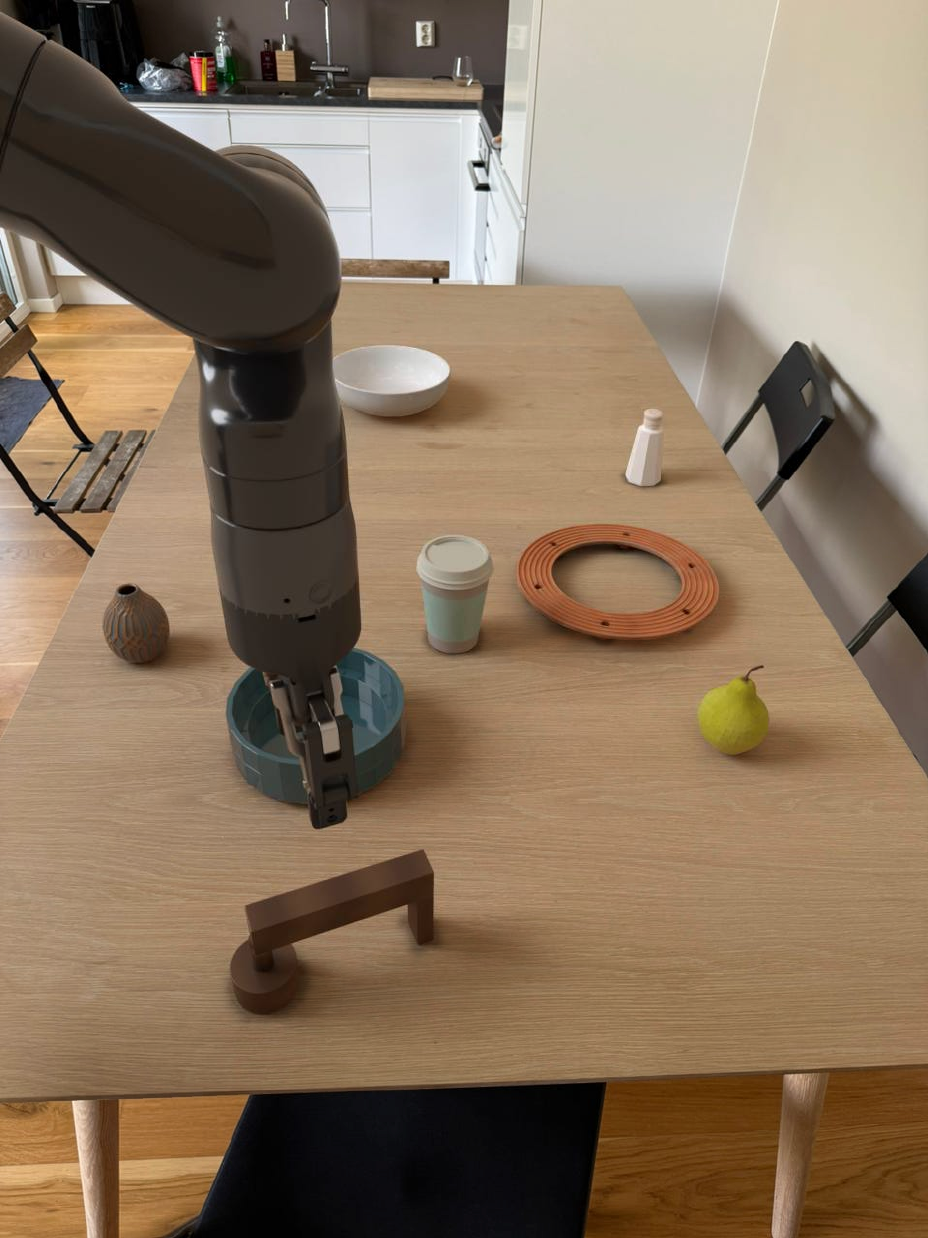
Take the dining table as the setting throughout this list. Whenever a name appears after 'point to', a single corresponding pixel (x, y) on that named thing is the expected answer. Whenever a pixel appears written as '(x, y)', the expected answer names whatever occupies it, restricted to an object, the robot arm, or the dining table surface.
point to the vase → (135, 625)
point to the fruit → (734, 716)
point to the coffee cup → (454, 590)
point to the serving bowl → (390, 379)
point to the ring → (561, 609)
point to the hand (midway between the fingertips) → (311, 773)
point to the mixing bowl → (264, 750)
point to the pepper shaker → (647, 451)
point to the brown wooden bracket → (324, 923)
